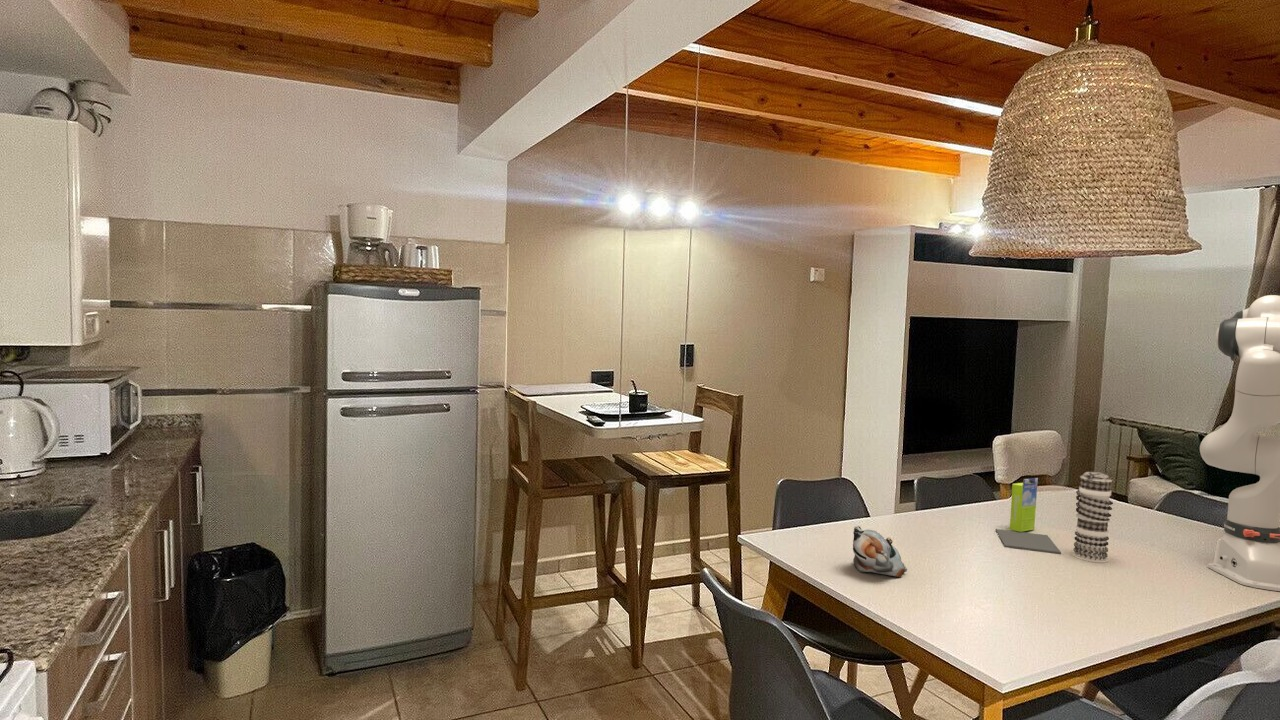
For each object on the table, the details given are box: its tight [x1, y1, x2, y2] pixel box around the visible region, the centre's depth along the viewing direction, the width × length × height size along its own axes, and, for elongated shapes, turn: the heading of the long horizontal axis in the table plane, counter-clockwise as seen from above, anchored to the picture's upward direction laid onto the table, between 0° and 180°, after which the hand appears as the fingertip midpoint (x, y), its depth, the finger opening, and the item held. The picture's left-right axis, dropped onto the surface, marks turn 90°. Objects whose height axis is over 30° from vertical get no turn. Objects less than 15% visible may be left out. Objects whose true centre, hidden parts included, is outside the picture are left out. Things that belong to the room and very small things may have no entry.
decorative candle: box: [1072, 471, 1114, 564], centre depth 209 cm, size 9×9×25 cm
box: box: [1009, 477, 1039, 532], centre depth 236 cm, size 10×4×17 cm, turn 127°
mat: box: [995, 528, 1062, 555], centre depth 224 cm, size 19×15×1 cm
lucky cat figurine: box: [852, 525, 908, 578], centre depth 189 cm, size 15×12×14 cm
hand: (1279, 377), depth 239 cm, fingers open, 8 cm apart
